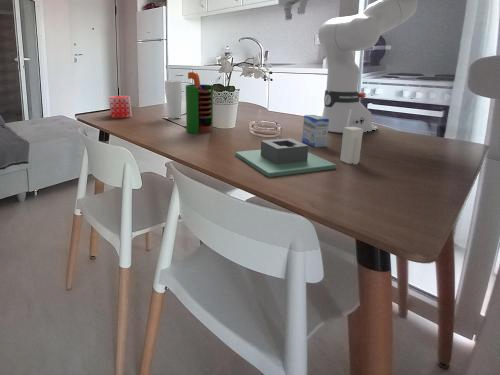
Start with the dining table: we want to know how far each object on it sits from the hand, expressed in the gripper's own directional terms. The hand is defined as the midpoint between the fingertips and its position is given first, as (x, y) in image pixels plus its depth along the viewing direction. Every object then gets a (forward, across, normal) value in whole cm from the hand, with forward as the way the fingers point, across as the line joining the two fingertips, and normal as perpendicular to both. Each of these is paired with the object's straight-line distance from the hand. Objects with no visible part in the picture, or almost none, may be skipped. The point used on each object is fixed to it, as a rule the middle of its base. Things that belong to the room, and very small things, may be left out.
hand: (294, 17), depth 115 cm
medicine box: (+38, -9, -6) cm, 40 cm away
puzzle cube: (+35, +56, +52) cm, 84 cm away
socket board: (+41, -25, +11) cm, 49 cm away
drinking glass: (+35, +46, +31) cm, 65 cm away
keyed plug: (+41, -29, -7) cm, 50 cm away
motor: (+38, +19, +25) cm, 49 cm away
